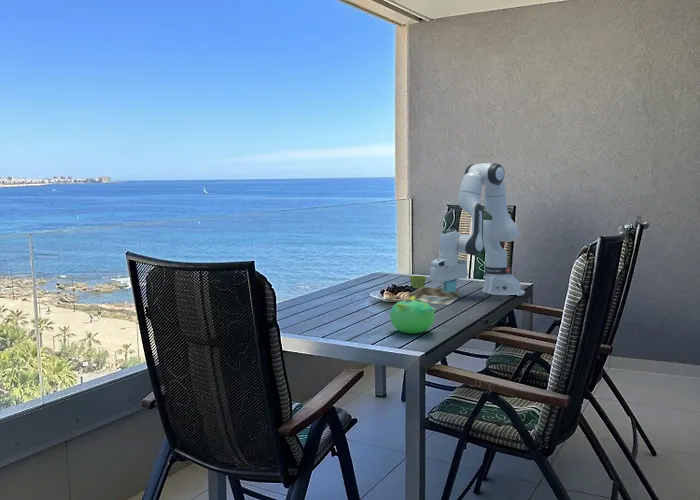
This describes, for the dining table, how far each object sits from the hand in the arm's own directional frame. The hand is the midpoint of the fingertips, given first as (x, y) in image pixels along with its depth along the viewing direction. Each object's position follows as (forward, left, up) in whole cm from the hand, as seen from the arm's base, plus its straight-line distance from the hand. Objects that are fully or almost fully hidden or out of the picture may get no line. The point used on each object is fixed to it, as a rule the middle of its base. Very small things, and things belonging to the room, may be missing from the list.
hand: (449, 288), depth 323 cm
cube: (0, 0, -2) cm, 2 cm away
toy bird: (-5, +70, -7) cm, 70 cm away
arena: (+6, +4, -7) cm, 10 cm away
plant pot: (+21, -14, -7) cm, 26 cm away
